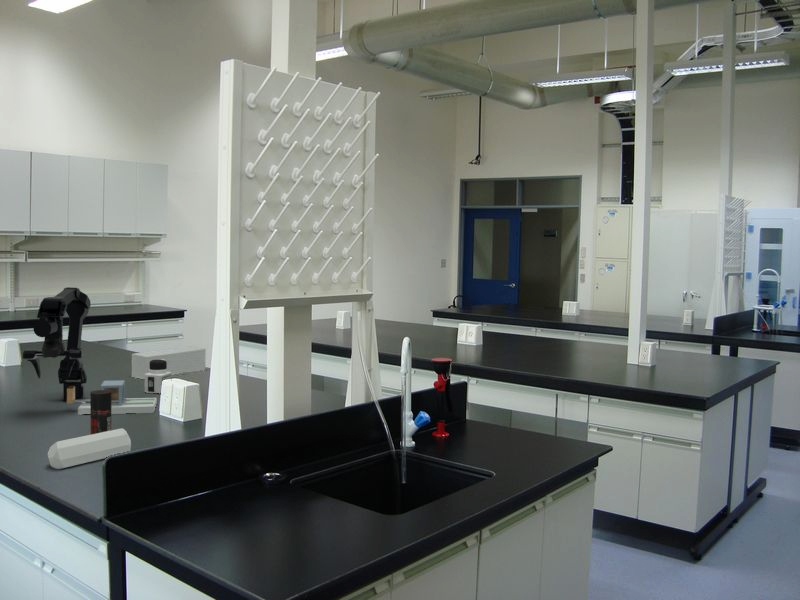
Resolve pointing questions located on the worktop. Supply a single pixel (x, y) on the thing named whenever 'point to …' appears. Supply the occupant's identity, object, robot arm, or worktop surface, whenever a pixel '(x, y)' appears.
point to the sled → (72, 399)
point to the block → (114, 393)
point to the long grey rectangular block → (170, 360)
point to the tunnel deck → (123, 407)
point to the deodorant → (100, 411)
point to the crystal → (88, 448)
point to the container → (156, 376)
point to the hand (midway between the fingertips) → (53, 377)
